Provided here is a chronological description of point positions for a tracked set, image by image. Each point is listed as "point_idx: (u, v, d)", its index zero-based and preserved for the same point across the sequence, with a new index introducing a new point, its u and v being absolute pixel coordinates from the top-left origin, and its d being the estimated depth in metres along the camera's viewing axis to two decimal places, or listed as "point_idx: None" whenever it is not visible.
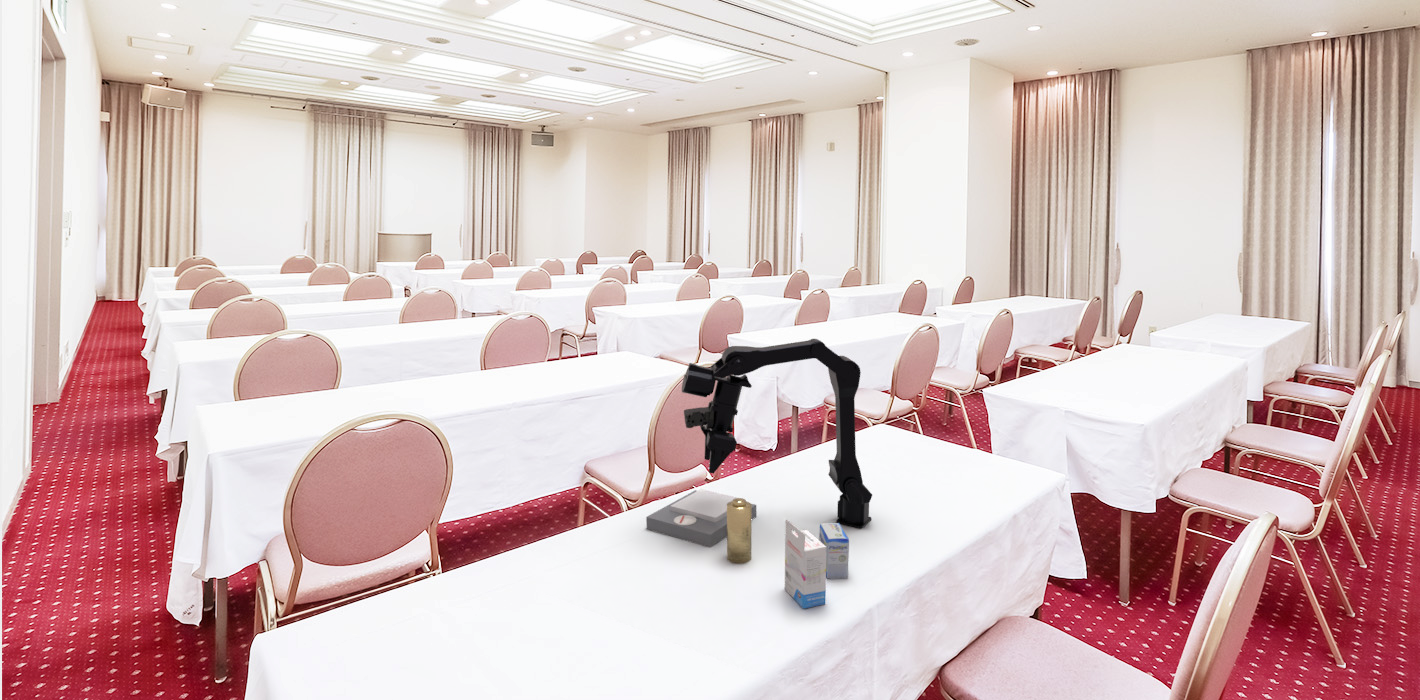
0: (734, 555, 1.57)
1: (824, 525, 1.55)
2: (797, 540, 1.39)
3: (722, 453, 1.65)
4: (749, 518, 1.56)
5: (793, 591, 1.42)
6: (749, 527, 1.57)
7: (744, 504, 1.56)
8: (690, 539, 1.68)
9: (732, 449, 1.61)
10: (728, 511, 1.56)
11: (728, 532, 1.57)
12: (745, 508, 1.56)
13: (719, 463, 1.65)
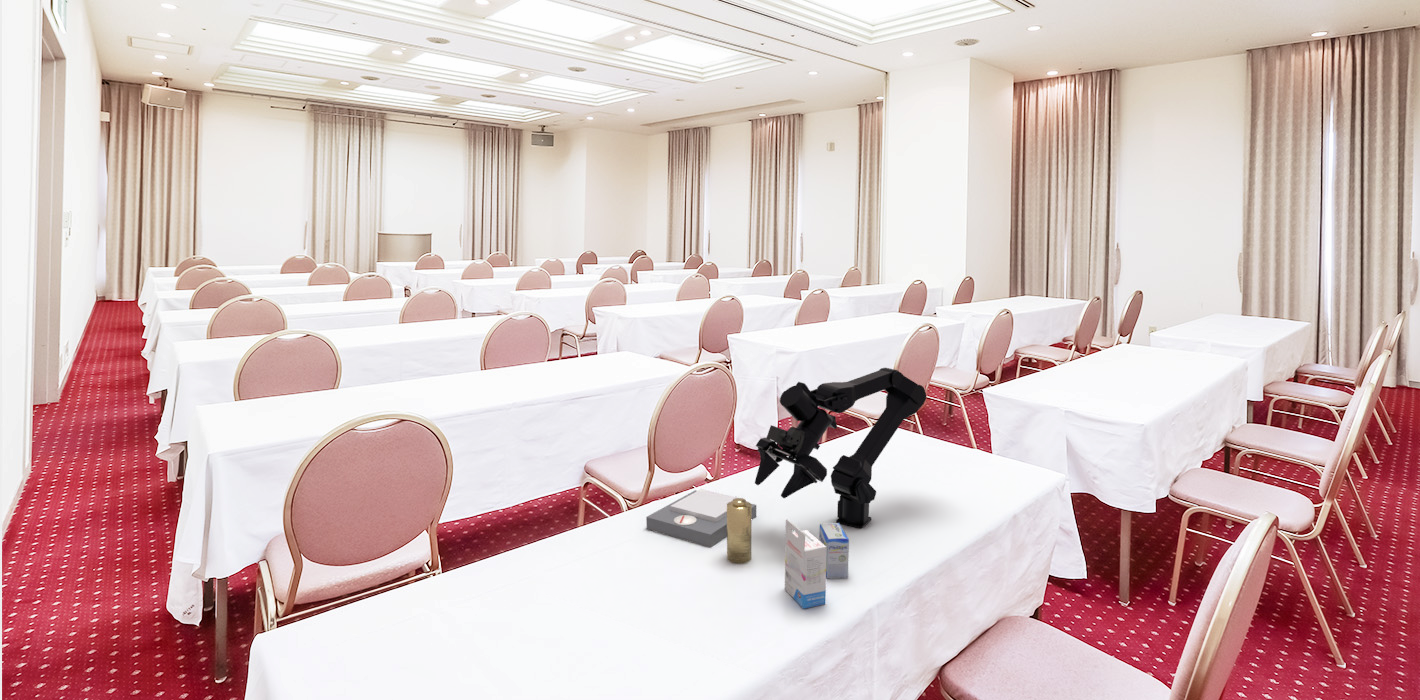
0: (734, 555, 1.57)
1: (824, 525, 1.55)
2: (797, 540, 1.39)
3: (803, 481, 1.58)
4: (749, 518, 1.56)
5: (793, 591, 1.42)
6: (749, 527, 1.57)
7: (744, 504, 1.56)
8: (690, 539, 1.68)
9: (822, 479, 1.57)
10: (728, 511, 1.56)
11: (728, 532, 1.57)
12: (745, 508, 1.56)
13: (795, 490, 1.58)
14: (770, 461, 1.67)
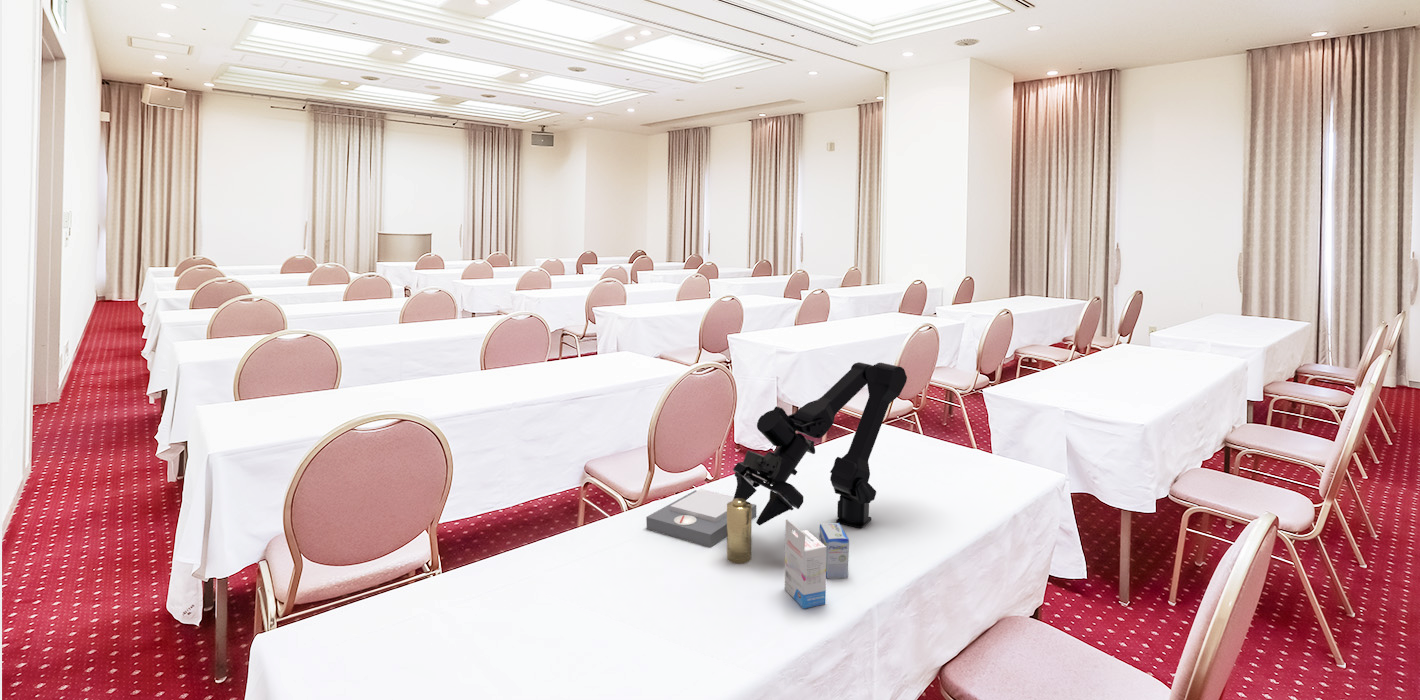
0: (734, 555, 1.57)
1: (824, 525, 1.55)
2: (797, 540, 1.39)
3: (779, 507, 1.56)
4: (749, 518, 1.56)
5: (793, 591, 1.42)
6: (749, 527, 1.57)
7: (744, 504, 1.56)
8: (690, 539, 1.68)
9: (798, 507, 1.54)
10: (728, 511, 1.56)
11: (728, 532, 1.57)
12: (745, 508, 1.56)
13: (771, 517, 1.55)
14: (747, 486, 1.64)
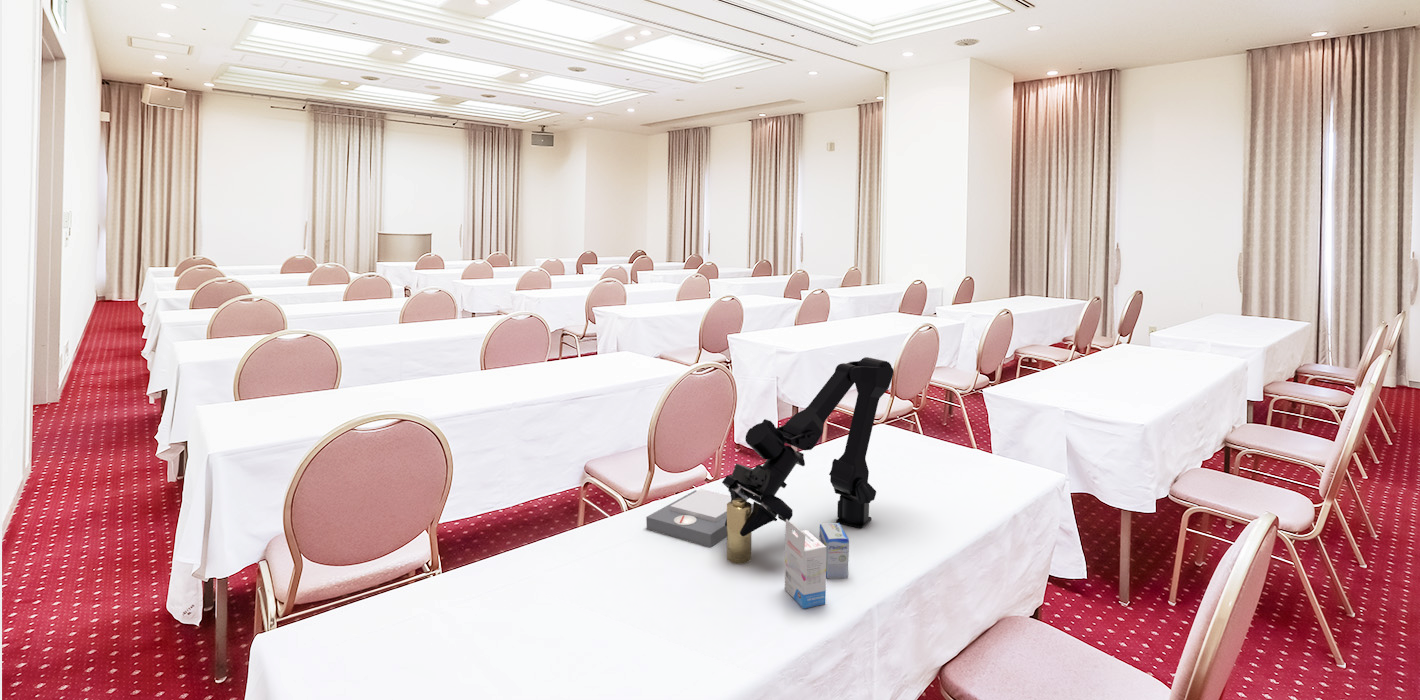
0: (734, 555, 1.57)
1: (824, 525, 1.55)
2: (797, 540, 1.39)
3: (763, 518, 1.56)
4: None
5: (793, 591, 1.42)
6: None
7: (744, 504, 1.56)
8: (690, 539, 1.68)
9: None
10: (728, 511, 1.56)
11: (728, 532, 1.57)
12: (745, 508, 1.56)
13: (755, 528, 1.56)
14: None
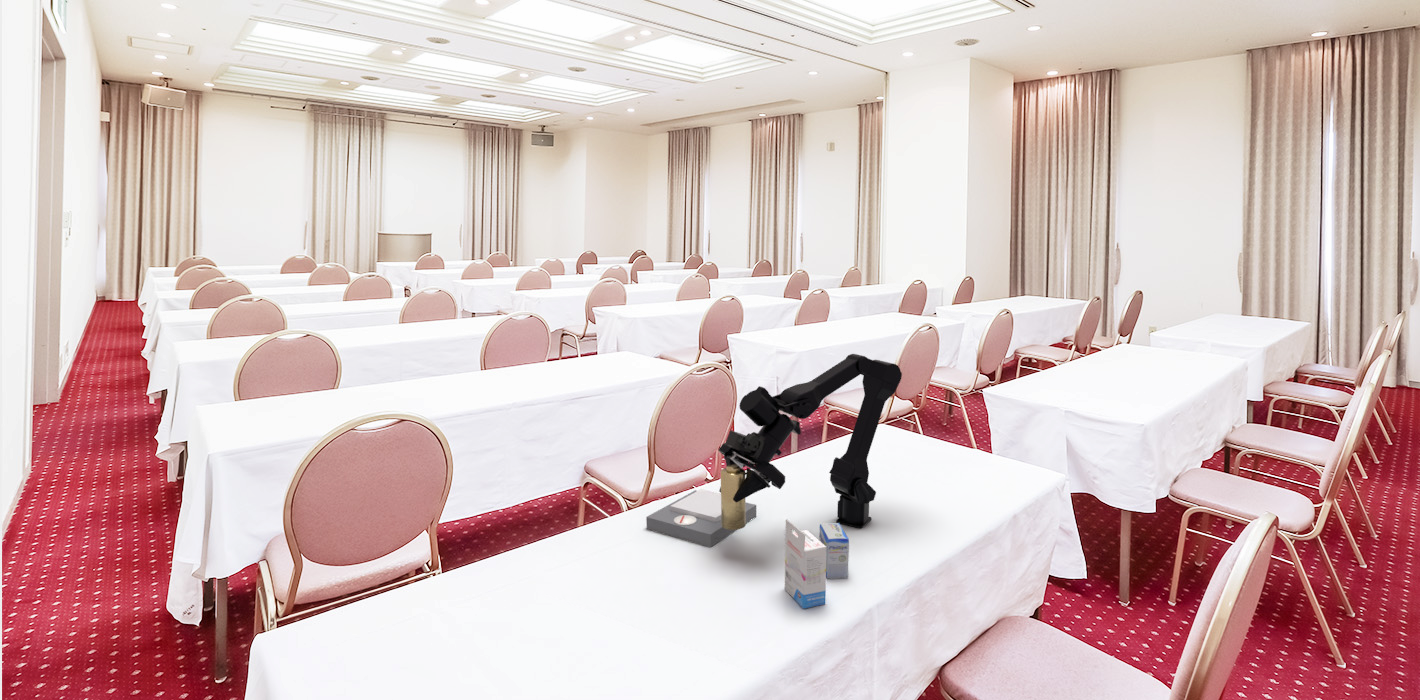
0: (728, 521, 1.58)
1: (824, 525, 1.55)
2: (797, 540, 1.39)
3: (756, 485, 1.56)
4: None
5: (793, 591, 1.42)
6: None
7: (737, 470, 1.57)
8: (690, 539, 1.68)
9: (780, 487, 1.53)
10: (721, 477, 1.57)
11: (722, 498, 1.58)
12: (738, 474, 1.56)
13: (748, 494, 1.56)
14: None
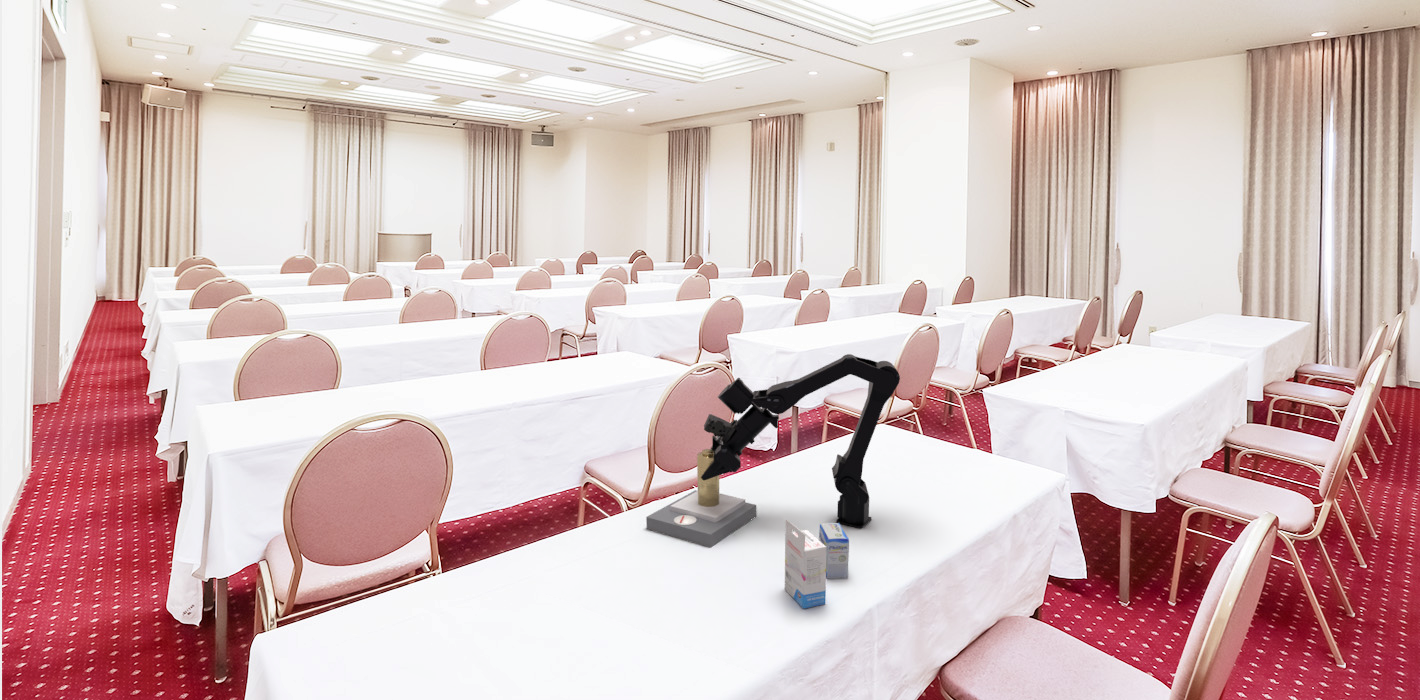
0: (699, 497, 1.77)
1: (824, 525, 1.55)
2: (797, 540, 1.39)
3: (721, 468, 1.72)
4: None
5: (793, 591, 1.42)
6: None
7: (710, 454, 1.76)
8: (690, 539, 1.68)
9: (733, 470, 1.68)
10: (697, 458, 1.77)
11: (697, 477, 1.78)
12: (708, 457, 1.75)
13: (714, 475, 1.72)
14: None
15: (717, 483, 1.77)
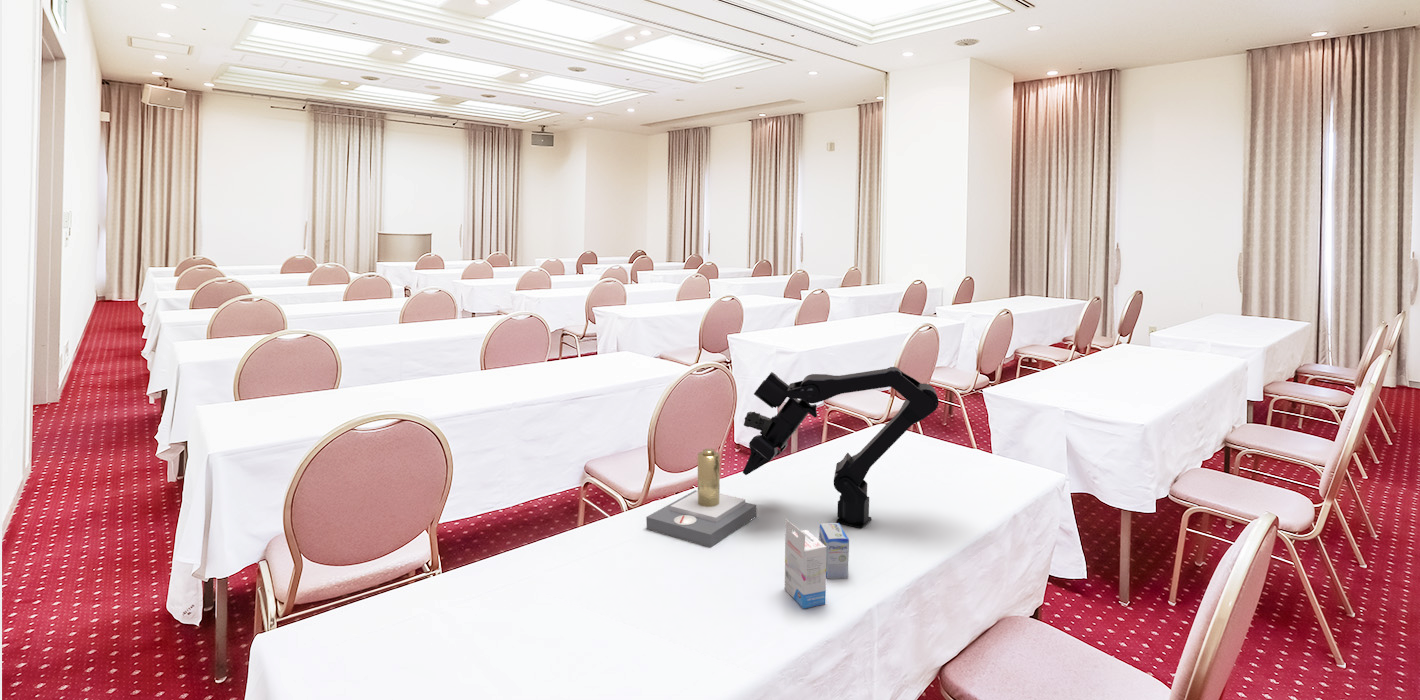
0: (699, 497, 1.77)
1: (824, 525, 1.55)
2: (797, 540, 1.39)
3: (760, 460, 1.72)
4: (712, 467, 1.75)
5: (793, 591, 1.42)
6: (713, 475, 1.75)
7: (710, 454, 1.76)
8: (690, 539, 1.68)
9: (767, 457, 1.68)
10: None
11: None
12: (708, 457, 1.75)
13: (754, 468, 1.73)
14: None
15: (717, 483, 1.77)
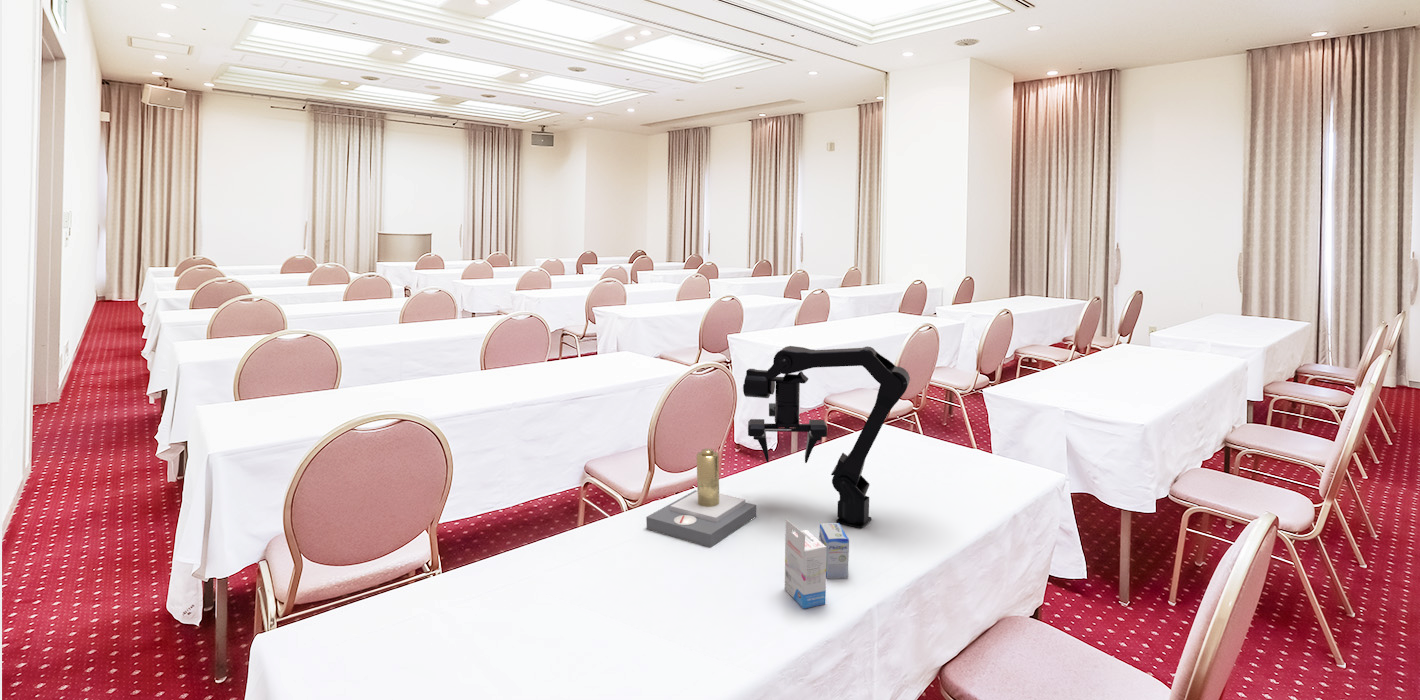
0: (699, 497, 1.77)
1: (824, 525, 1.55)
2: (797, 540, 1.39)
3: None
4: (711, 467, 1.75)
5: (793, 591, 1.42)
6: (712, 475, 1.75)
7: (709, 454, 1.76)
8: (690, 539, 1.68)
9: (748, 434, 1.78)
10: None
11: None
12: (707, 457, 1.75)
13: None
14: (807, 438, 1.79)
15: (717, 483, 1.77)
